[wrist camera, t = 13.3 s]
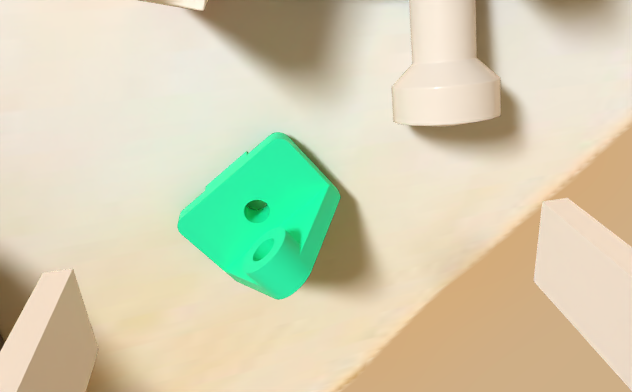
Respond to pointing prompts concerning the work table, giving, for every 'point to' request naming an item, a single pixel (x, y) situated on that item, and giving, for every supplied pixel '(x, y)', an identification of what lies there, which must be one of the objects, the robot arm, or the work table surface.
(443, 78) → the spotlight
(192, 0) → the ink cartridge box
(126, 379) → the work table surface
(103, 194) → the work table surface
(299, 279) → the camera mount
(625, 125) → the work table surface
